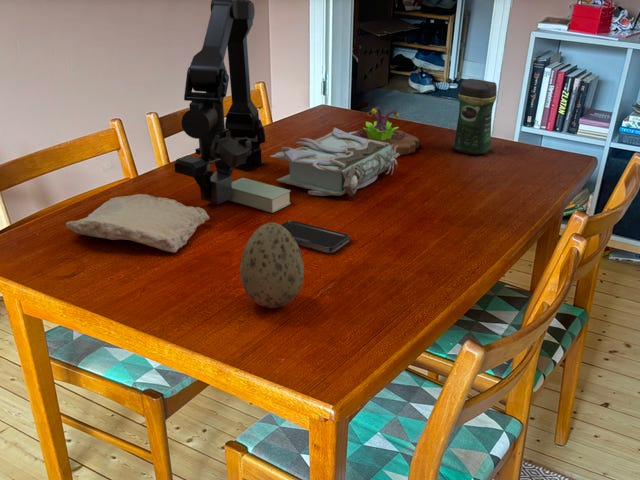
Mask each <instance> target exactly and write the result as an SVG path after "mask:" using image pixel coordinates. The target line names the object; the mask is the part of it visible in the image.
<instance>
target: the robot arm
mask: <svg viewBox="0 0 640 480" xmlns="http://www.w3.org/2000/svg"><path fill="white" fill-rule="evenodd" d="M255 11H256V10H255V4H254V2H252V1H251V0H211V1H210V16H209V20H208V23H207V28H206V31H205V36H204V40H203V43H202V47H201V49H200V51H198V52H197V53H195V54H194V55H193V57H192V59H191V62H190V65H189V67H188V68H187V70H186V79H185V86H184V94H183V95H184V96H183V101H188V102H190V103H189V109H188V110H186V111H185V112H184V113H183V115H182V118H181V120H180V121H181V122H180V123H181V124H180V125H181V128H182V130H183V132H184V133H185V134H186V135H187V136H188V137H190V138H192V139H195V140H196V139H197V140H198V147H197V148H195V154H196V155H200V156H199V157H197V156H193V155H189V154H188V155H185V156H182V157H181V156H180V157H178V158H177V159H176V160H175V161H173V165H174V166H173V167H174V173H175V174H179V175H184V176H186V177H189V178H193V179H194V181H195V182H196V184H197V186H198V187H199V190H200V189H201V190H202V192H203V194H204V196H205V197H206V198H207V199H211V176H212V175H213V174H214V172H215V171H214V170H211V167H210V165H211V164H212V163H214V165H215V166H214V167H215V170H216V173H220V174H224V175H228V176H231V177H232V174H233V171H234V169H235V168H238V169H242V170H246V171H251V170H253V169H257V168H259V167H261V166H263V165H265V164H266V163H265V161H263V160H262V148H261V145H262V144H264V143H266V130H265V128H264V125H263V122H262V120H261V119H260V115H259V110H258V108H257V107H256V105H255V103H254V102H253V101H252V97H251V96H252V94H251V79H250V65H249V50H248V36H249V33H250V31H251V29H252V27H253V25H254V19H255ZM226 53H227V58H228V71H229V74H228V71H227V68H226V64H225V62H224V61H225V57H226ZM229 82H230V83H229ZM229 84H230V94H231V96H230V97H231V105H230V107H229V109H228V111H227V113H226V115H225V111H224V110H225V109H224V100H225V98H226V97H227V93H228V87H229Z"/></svg>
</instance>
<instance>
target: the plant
mask: <svg viewBox="0 0 640 480" xmlns="http://www.w3.org/2000/svg"><path fill="white" fill-rule="evenodd" d="M377 112H378V114H377ZM391 114H394V118H396V119H398V118H399V117H400V114H399V112H398V111H395V110H390V111H388V112H387V113H386V114H385V115H384V117H383V113H382V109H381V108H380V107H379V106H375V107H373V108H372V109H371V110H369V111H368V112H367V117H369V118H371V117H372V116H374V118H375V119H376V120H375V121H373V123H372V122H370V121H365V126H366V128H365V127H362V129H360V128H357V129H356V130H354V131H352V132H357V133H352V134H351V135H354V136H358V137H361V138H365V139H370V140H375V141H380V142H385V143H388V144H390V145H391V146H392V144H393V146H392V149H393V150H394V148H395V146H396V145H398V146H397V148H396V153H399V155H400V156H404V155H405V156H407V155H410V154H412V153H415V152H416V149H419V147H420V140H419V138H418V137H416V136H414V135H411V134H409V133H407V132H404V131H403V130H398V129H399V128H400V127H399V126H395V127H394V126H393V127H392V124H393V122H390V121H389V120H388V119H389V116H390V115H391ZM396 153H395V154H396ZM395 154H394V155H395Z"/></svg>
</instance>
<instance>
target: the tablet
mask: <svg viewBox="0 0 640 480" xmlns="http://www.w3.org/2000/svg"><path fill="white" fill-rule="evenodd" d="M208 220H210V215H208V213H207V211H206V210H205V209H204V208H202V207H199V206H196V207H195V206H186V205H185V204H183V203H181V202H178V201H177V200H175V199H170V198H168V197H155V196H154V195H153V196H152V195H150V194H143V193H138V194H133V195H124V196H123V195H122V196H117V197H111V198H109V200H108V201H105V202H104V203H102V204H101V205H100V206H99V207H98V208H96V209H94V210H93V211H92V212H90V213H89V214H88V215H87V216H86V217H84V218H81V219H78V220H71V221H67V222H66V223H65V226H66V229H67V230H70V231H71V232H73V233H76V234H79V235H81V236H87V237H94V238H100V239H107V240H111V241H117V240H118V241H119V240H120V241H121V240H123V241H124V240H125V241H132V242H135V243H139V244H142V245H146V246H148V247H152V248H156V249H159V250H161V251H163V252H164V251H165V252H169V253H173V254H175V253H177V252H178V250H179V249H182V248H183V246H185V245H187V242H188V240H189V239H190V238H191V237H192V236H193V235H194V234H195V232H196V230H197V227H199V226H201V225H203V224H205V222H206V221H208Z"/></svg>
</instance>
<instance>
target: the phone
mask: <svg viewBox="0 0 640 480" xmlns="http://www.w3.org/2000/svg"><path fill="white" fill-rule="evenodd" d="M280 225H281V226H283V227H284V228H286V229H287V230H288V231H289V232H290V234H291V235H292V236H293V238H294V239H295V241H296V242H297V244H298V246H301V247H304V248H307V249H311V250H314V251H318V252H322V253H326V254H334V253H335V252H337V251H339V250H340V249H341V248H343V247H344V246H345V245H347V244H349V243H350V235H349V234H347V233H343V232H339V231H335V230H332V229H328V228H324V227H320V226H316V225H311V224H307V223H304V222H300V221H296V220H287V221H286V222H284V223H282V224H280Z"/></svg>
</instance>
